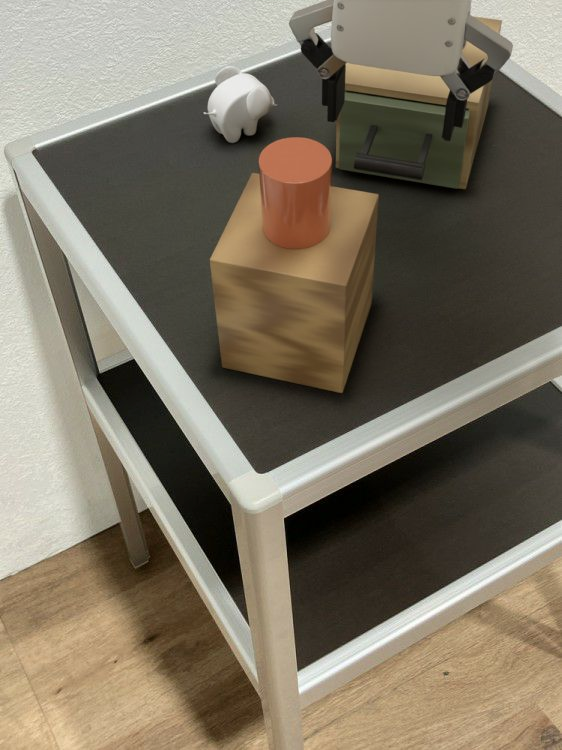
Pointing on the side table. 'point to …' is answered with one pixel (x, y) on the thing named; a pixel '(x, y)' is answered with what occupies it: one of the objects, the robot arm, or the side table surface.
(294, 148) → the spice jar
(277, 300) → the oak stand
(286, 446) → the side table surface
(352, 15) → the robot arm
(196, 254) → the side table surface
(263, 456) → the side table surface
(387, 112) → the drawer
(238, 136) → the elephant figurine
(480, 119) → the cabinet
